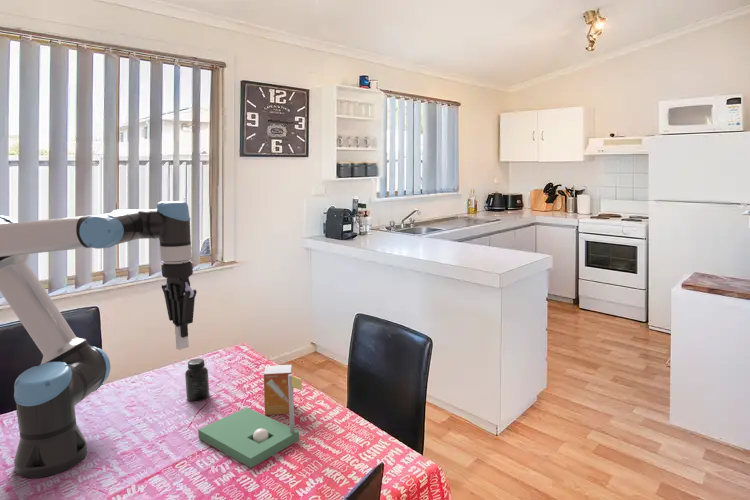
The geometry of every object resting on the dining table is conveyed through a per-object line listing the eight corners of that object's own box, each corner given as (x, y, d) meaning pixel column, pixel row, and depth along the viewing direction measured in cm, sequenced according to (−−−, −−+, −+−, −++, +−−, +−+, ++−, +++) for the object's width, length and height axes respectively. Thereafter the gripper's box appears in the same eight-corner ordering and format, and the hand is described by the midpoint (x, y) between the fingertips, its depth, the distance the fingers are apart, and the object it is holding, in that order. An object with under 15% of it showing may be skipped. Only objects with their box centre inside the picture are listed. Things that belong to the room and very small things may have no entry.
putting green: (198, 438, 132) (194, 373, 129) (247, 415, 145) (244, 355, 142) (259, 472, 117) (255, 399, 114) (307, 443, 130) (305, 377, 127)
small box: (264, 415, 144) (263, 374, 142) (266, 405, 151) (264, 365, 149) (292, 414, 146) (291, 372, 144) (293, 404, 152) (292, 364, 150)
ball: (254, 449, 128) (247, 435, 129) (266, 442, 131) (259, 428, 132) (261, 444, 126) (254, 430, 127) (273, 437, 129) (266, 423, 130)
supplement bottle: (187, 393, 159) (185, 358, 157) (209, 391, 161) (207, 356, 159) (186, 403, 152) (183, 366, 150) (209, 400, 154) (207, 363, 152)
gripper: (204, 261, 127) (209, 349, 130) (176, 256, 135) (181, 339, 138) (177, 266, 121) (183, 357, 125) (149, 260, 129) (156, 346, 132)
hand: (182, 347), depth 131 cm, fingers closed
